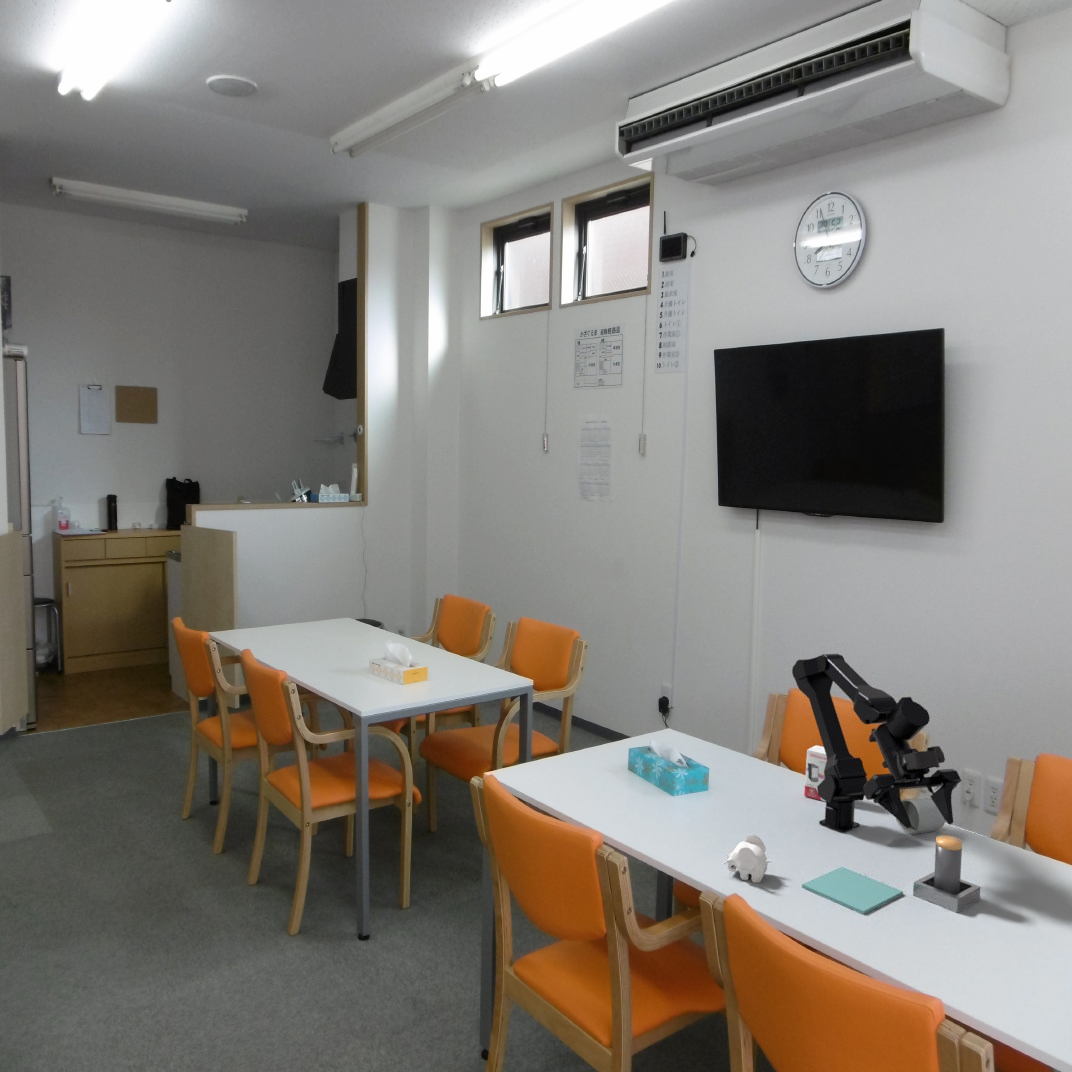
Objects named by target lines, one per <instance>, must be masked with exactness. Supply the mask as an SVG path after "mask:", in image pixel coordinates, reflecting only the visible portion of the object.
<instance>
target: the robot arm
mask: <svg viewBox="0 0 1072 1072" xmlns="http://www.w3.org/2000/svg"><path fill="white" fill-rule="evenodd" d="M791 671H792V676H793V679H794V681H795V683H796V686H797V688H798V689H799V691H800V692H802V694H803V695H805V696H806V697H807V698H808V700H809V703H810V706H811V709H812V713H813V717H814V719H815V723H816V726H817V729H818V732H819V736H820V739H821V742H822V747H824V749H825V753H826V756H827V762H826V765H825V769H824V775H825V779H824V780H823V781H822V782H821V783H820V784H819V785H818V786H817V789H818V796H819V797H821V798H822V799H824V800H825V801H824V802H825V807H824V808H825V809H824V810H825V811H824V816H825V817H824V819H821V820H819V823H818V824H819V825H821V826H825V827H827V828H830V829H833V830H836V831H838V832H841V833H847V832H849V831H852V830H854V829H856V828H859V827H860V826H861V824H860V823H859V822H856V821H854V820H855V801H863V800H864V798H865V800H867V801H870V800H872V801H873V803H874V804H878V805H879V806H881V807H882V808H883V809H885V810H886V811H887V812H888V813H890V814H891V815H892V816H893V817H894V818H895V820H896V819H898V820H899V821H900V822H901V823H902V824H903V825H904V826H905V827H906V828H910V827H911V823H910V820H909V817H908V815H907V812H906V810H905V808H904V806H903V803H902V799H901V792H900V791H901V790H911V789H922V788H923V789H924V788H926V789H927V791H928V792H929V793H931V795H930V799H932V800H933V802H934V803H935V805H936V806H937V808H938V810H939V811H940V813H941V814H942V816H943V817H944V819H945V822H946V823H947V824H948V826H949V825H952V824H953V823H954V818H953V816H954V814H953V805H952V793H953V790H955V788H957V786H958V785H959V783H961V782H962V779H961V776H960V774H959V773H958V771H957V770H956V769H954V768H946V769H945V768H943V769H937V768H940V764H943V763H945V761H946V758H945V755H944V752H943V750H942V748H941V746H939V745H938V746H937V745H935V746H930V747H927V749H926V750H925V751H924V750H922V751H919V750H918V749H917V748H912V747H911V745H910V743H909V740H913V739H914V738H915V737H916V736H917V735H918V734H919V733H920V732H921V731H922V730H923V729H925V727H927V725H928V724H929V722H930V714H929V711H928V709H926V708H924V706H922V704H920V703H918V702H916V701H913V697H911V696H902V697H901V698H900V699H899V700H898V702H897V701H896V699H895V698H894V697H893V696H891V694H888V693H887V692H885V691H884V690H881V689H879V688H876V687H873V686H871V685H870V684H869V683H868V682H867V681H866V680H865V679H864V678H863V677H862V676H860V675H859V673H858V672H857V671H855V669H854V668H853V667H852V666H850V665H849V664H848V663H847V662H846V661H845V658H844V656H843V654H839V653H826V654H825V653H823V654H821V655H818V656H817V657H812V658H810V659H809V658H807V659H806V658H805V659H798V660H796V661H795V664H794V665H793V666H792V670H791ZM833 683H834V684H835V685H837V686H838V688H839V689H840V690H841V691H842V692H843V693H844V694H845V695H846V696H847V697H848V698H849V699H850V701H852V703H853V708H852V710H853V711H854V713H855V714H856V716H857V717H858V718H859V720H860V721H861V723H863V724H864V725H878V724H879V725H878V726H877V727H876V728H872V729H871V732H870V735H869V736H868V741H869V742H870V743H876V744H877V746H878V749H879V751H880V752H881V754H882V758H883V759H884V761H883V762H882V763H881V765H882V767H883V768H884V769H888V771H889V773H881V774H873V775H872V776H871V777H870V778H869V780H868V778H867V776H868V774H867V772H866V770H865V768H864V763H863V760H862V759H861V757H854V756H853V755H852V754H851V753H850V751H849V748H848V744H847V741H846V739H845V735H844V732H843V729H842V725H841V722H840V720H839V716H838V713H837V711H836V707H835V705H834V701H833V698H832V695H831V690H832V687H833ZM932 768H936V769H937V770H936V771H935V772H933V774H932V775H930V776H926V777H925V775H927V774H929V772H931V770H930V769H932Z"/></svg>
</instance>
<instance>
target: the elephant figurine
mask: <svg viewBox="0 0 1072 1072" xmlns="http://www.w3.org/2000/svg"><path fill="white" fill-rule="evenodd" d="M765 853H766V845H765V843H764V842H763V840H762V839H761V837H759V836H758V835H756V834H751V835H747V837H746V838H745V839H744V841H740V842H738V844H737V846H736V847H735V848H734V849H733V851H732V852H731V853H730V854H728V855H726V856H725V857H724V858H728V859H727V860H726V861H724V862H721V865H726V866H727V869H728V871H729V872H735V871H736V869H737V870H738V872H739V875H740V879H741V880H742V881H748V880H749V877H750V876H749V875H751V882H753V883H754V884H755V883H760V882H761V881H762V879H763V878H764V876H765V873H766V872H767V870H768V863H772V862H773V860H770V859H768V858H767V856H766V854H765Z"/></svg>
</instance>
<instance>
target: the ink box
mask: <svg viewBox="0 0 1072 1072" xmlns="http://www.w3.org/2000/svg"><path fill="white" fill-rule="evenodd" d="M826 762H827V756H826V753H825V749H824V746H823V745H821V746H820V745H814V746H812V747H809V748H808V749H807V750H806V761H805V763H806V765H805V779H804V796H805V797H806V798H811V799H815V800H820V801H822V802H826V801H825V800H824V799H822V798H821V797H819V796H818V789H817V786H818V785H819V784H820V783H821V782H822V781H823V780H824V779H825V775H824V769H825V765H826Z"/></svg>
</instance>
